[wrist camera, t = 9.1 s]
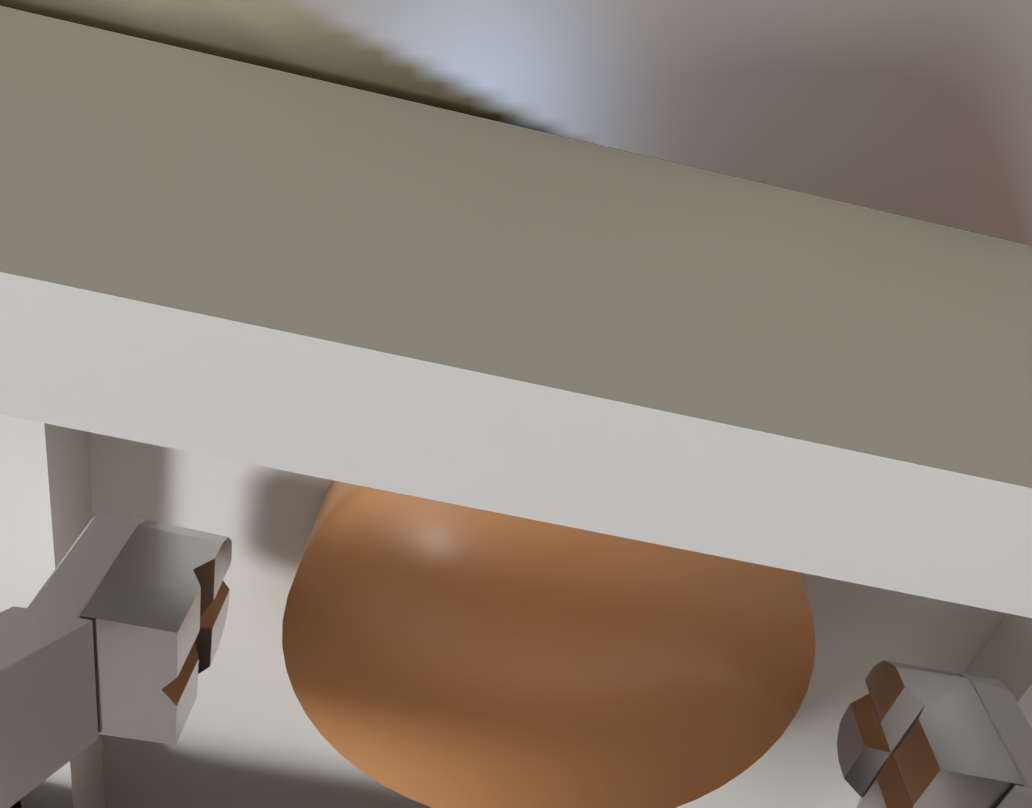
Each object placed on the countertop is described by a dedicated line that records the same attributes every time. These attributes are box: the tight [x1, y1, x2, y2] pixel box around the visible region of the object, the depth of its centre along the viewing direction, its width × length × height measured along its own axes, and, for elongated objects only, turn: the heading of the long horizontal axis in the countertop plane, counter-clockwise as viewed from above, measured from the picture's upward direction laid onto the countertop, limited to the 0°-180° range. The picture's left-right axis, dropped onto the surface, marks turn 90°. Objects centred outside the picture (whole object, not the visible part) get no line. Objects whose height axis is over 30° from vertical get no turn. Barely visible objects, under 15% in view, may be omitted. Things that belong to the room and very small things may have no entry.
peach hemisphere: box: [282, 480, 816, 808], centre depth 11 cm, size 6×6×2 cm
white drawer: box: [0, 6, 1032, 808], centre depth 11 cm, size 13×18×6 cm
